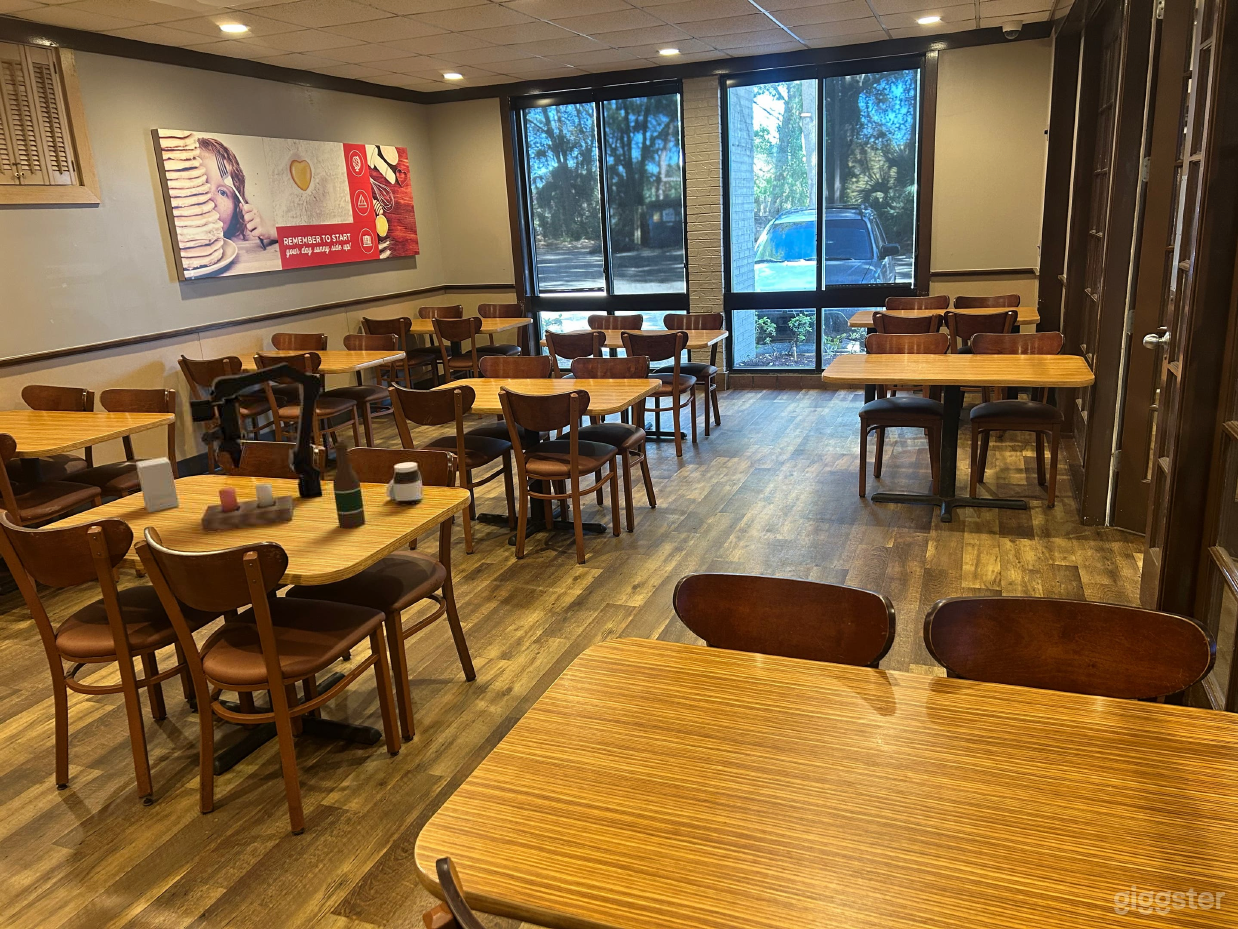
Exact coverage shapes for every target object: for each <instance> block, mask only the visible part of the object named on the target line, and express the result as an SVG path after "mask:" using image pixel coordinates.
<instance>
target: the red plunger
mask: <svg viewBox="0 0 1238 929" xmlns="http://www.w3.org/2000/svg"><path fill="white" fill-rule="evenodd" d="M218 494H219V501H220V505H221V507H222V511H223V512H229V511H234V510H237V509H238V504H237V502H238V499H237V498H238V497H237V494H236V488H235V487H226V488H222V489H219V490H218Z"/></svg>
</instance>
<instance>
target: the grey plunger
mask: <svg viewBox="0 0 1238 929" xmlns="http://www.w3.org/2000/svg"><path fill="white" fill-rule="evenodd" d="M254 487H255V494H256V498H257V499H256V500H257V501H258V506H259V507H267V506H271V505H273V504H274V500H273V498H274V495H273V494H274V493H273V490H272V489H273V487H272V483H268V482H266V483H265V482H264V483H259V484H257V485H255V486H254Z"/></svg>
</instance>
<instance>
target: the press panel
mask: <svg viewBox="0 0 1238 929" xmlns="http://www.w3.org/2000/svg"><path fill="white" fill-rule="evenodd" d="M273 500H274V504H273V505H271V506H267V507H259V506H258V501H257V499H253V500H245V501H237V504H238V509H237V510H234V511H229V512H223V511H222V507H221V504H214V505H208V506H207V508H206V509H205V511H204V513H203V516H202V517H201V519H200V520H201V525H202V532H203V533H204V532H207V533H210V532H209V531H214V532H219V531H218V530H221V531H226V529H229V530H234V529H233V528H236V529H241V528H242V527H243V528H248V527H249V526H250V527H256V526H255V525H258V526H263V525H264V526H265V525H270V524H278V522H279V523H285V522H284V521H287V522H291V521H293V516H294V511H293V510H294V509H295V507H294V506H295V505H294V499H293V495H292V494H291V495H284V496H275V497H274V496H273ZM250 527H249V528H250Z"/></svg>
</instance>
